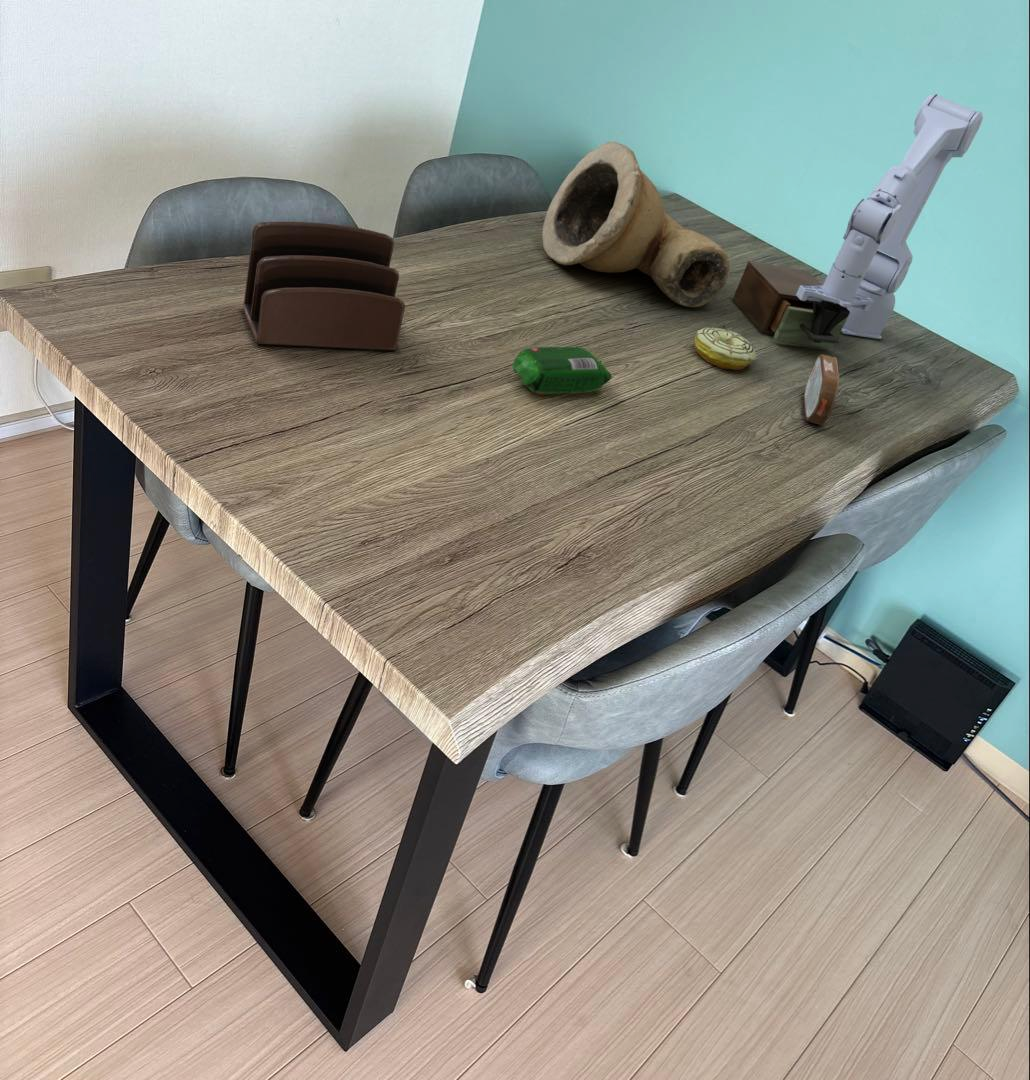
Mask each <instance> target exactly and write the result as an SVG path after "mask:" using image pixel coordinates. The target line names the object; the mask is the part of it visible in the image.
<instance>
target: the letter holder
mask: <svg viewBox="0 0 1030 1080" xmlns="http://www.w3.org/2000/svg"><path fill="white" fill-rule="evenodd" d="M251 232H252V233H251V238H250V248H249V256H248V257H249V258H248V267H247V272H246V273H247V275H246V281H245V290H244V298H243V303H242V304H243V306H242V307H243V309H242V310H243V312H244V315H245V317H246V320H247V322H248V326H249V328H250V330H251V333H252V336H253V338H254V340H255V343H256V345H269V346H270V345H271V346H284V347H285V346H286V347H287V346H289V347H306V348H307V347H309V348H327V349H328V348H329V349H331V348H332V349H350V350H351V349H353V350H371V351H388V352H389V351H390V352H395V351H397V349H398V347H399V346H398V345H399V339H400V334H401V330H402V323H403V320H404V314H405V309H406V303H405V301H403V300H402V299H401V298H399V297H396V294H397V288H398V283H399V279H400V273H399V270H397V269H395V268H394V267H390V266H391V261H392V257H393V254H394V253H393V252H394V247H395V242H394V239H393V237H391V236H390V235H388V234H386V233H382V232H378V231H375V230H370V229H365V228H361V227H356V226H355V227H354V226H351V225H344V224H336V223H335V224H334V223H325V222H312V221H311V222H309V221H263V222H259V223H256V224H255V225H254V226H253V228H252V230H251Z"/></svg>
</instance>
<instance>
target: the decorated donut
mask: <svg viewBox="0 0 1030 1080" xmlns="http://www.w3.org/2000/svg"><path fill="white" fill-rule="evenodd" d="M694 348H695V351H696V354H698V355H699V356H700V358H702V359H703V360H705V361H706V362H708V363H709V364H711V365H713V366H715V367H718V368H720V369H726V370H732V371H733V370H734V371H739V370H743V369H745V368H746V367H749V365H751V364H752V363H754V362H756V360H757V353H756V350H755V348H754V346H753V345H752V344H751V342H749V340H748V339H746V338H745V337H743V336H742V335H741V334H739V333H737V332H735V331H732V330H728V329H724V328H720V327H703V328H701V329H698V330H697V332H696V334H695V337H694Z"/></svg>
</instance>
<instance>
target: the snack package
mask: <svg viewBox="0 0 1030 1080" xmlns="http://www.w3.org/2000/svg"><path fill="white" fill-rule="evenodd" d="M512 370H513V371H514V372H515V373H516V374H517V375H518V377H519V378H520V379H521V381H522V385H523V386H525V387H527V388H528V389H529V390H530V391H531V392H532V393H534V394H535V395H541V396H542V395H543V396H545V395H560V394H561V395H562V394H582V393H591V392H595V391H598V390H599V389H601V388H602V387H603V386H604V385H605V384H607V383H608V382H610V381H611V379H612V374H611V372H610V371H609V370H608V369H607V367H605V366H604V364H603V363H602V361H601V360H599V359H598V358H597V357H595V355H594V354H592V353H591V352H590V351H589V350H588V349H586V348H584V347H579V346H533V347H527V348H524V349H522V350H521V351H520V352H519V353H518V354H517V356H516V357H515V359H514V361H513V363H512Z"/></svg>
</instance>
